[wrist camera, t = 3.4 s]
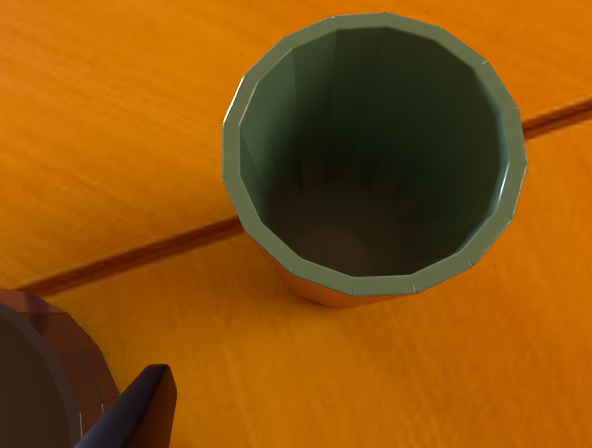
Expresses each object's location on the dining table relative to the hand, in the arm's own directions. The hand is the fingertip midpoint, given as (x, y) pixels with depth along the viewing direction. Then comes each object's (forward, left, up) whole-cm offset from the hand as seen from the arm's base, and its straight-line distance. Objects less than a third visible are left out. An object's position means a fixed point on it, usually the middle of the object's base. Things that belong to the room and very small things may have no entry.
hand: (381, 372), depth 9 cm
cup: (+3, -3, -11) cm, 12 cm away
